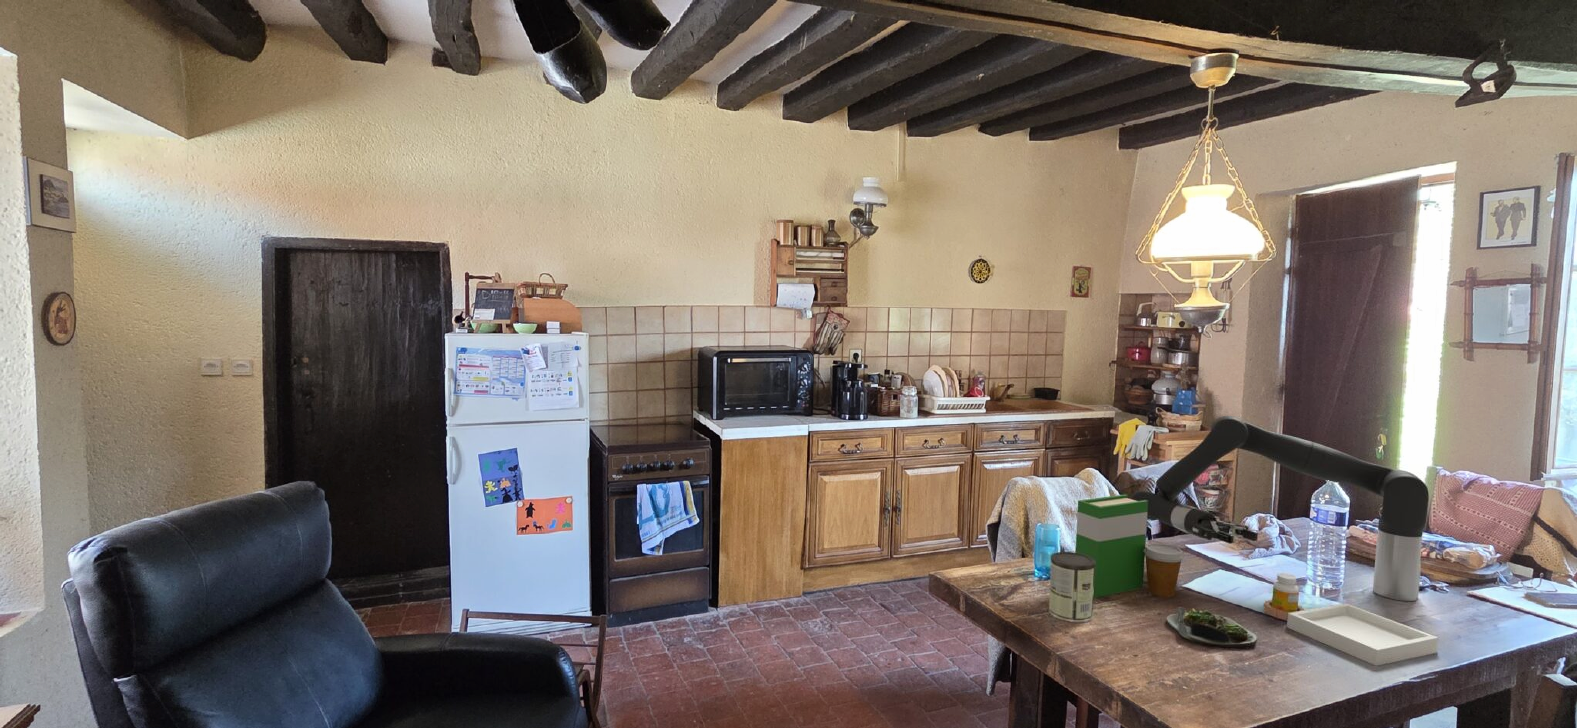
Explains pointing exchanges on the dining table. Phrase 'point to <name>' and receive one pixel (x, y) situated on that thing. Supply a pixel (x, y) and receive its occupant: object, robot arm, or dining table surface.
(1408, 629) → the tray
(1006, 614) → the dining table surface
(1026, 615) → the dining table surface
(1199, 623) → the salad plate
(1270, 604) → the cup holder
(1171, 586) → the disposable coffee cup
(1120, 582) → the hardback book
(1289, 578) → the supplement bottle
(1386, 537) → the robot arm
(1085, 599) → the coffee can
